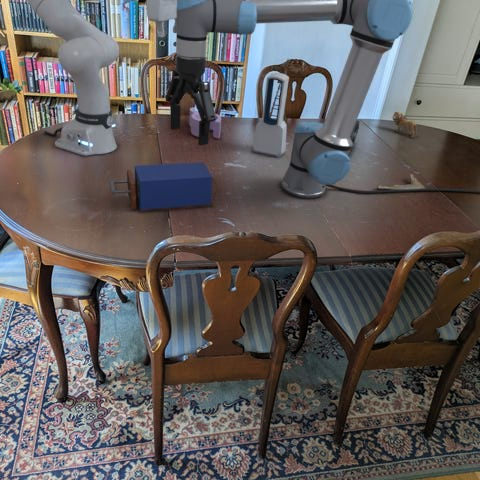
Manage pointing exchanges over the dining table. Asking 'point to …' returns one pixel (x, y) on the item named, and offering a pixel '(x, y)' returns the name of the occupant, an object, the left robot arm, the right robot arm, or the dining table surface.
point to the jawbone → (414, 185)
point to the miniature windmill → (278, 68)
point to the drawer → (131, 188)
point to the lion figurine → (404, 123)
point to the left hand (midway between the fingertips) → (169, 34)
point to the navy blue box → (173, 186)
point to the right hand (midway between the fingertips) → (188, 136)
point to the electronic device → (272, 121)
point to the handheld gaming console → (354, 134)
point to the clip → (196, 118)
